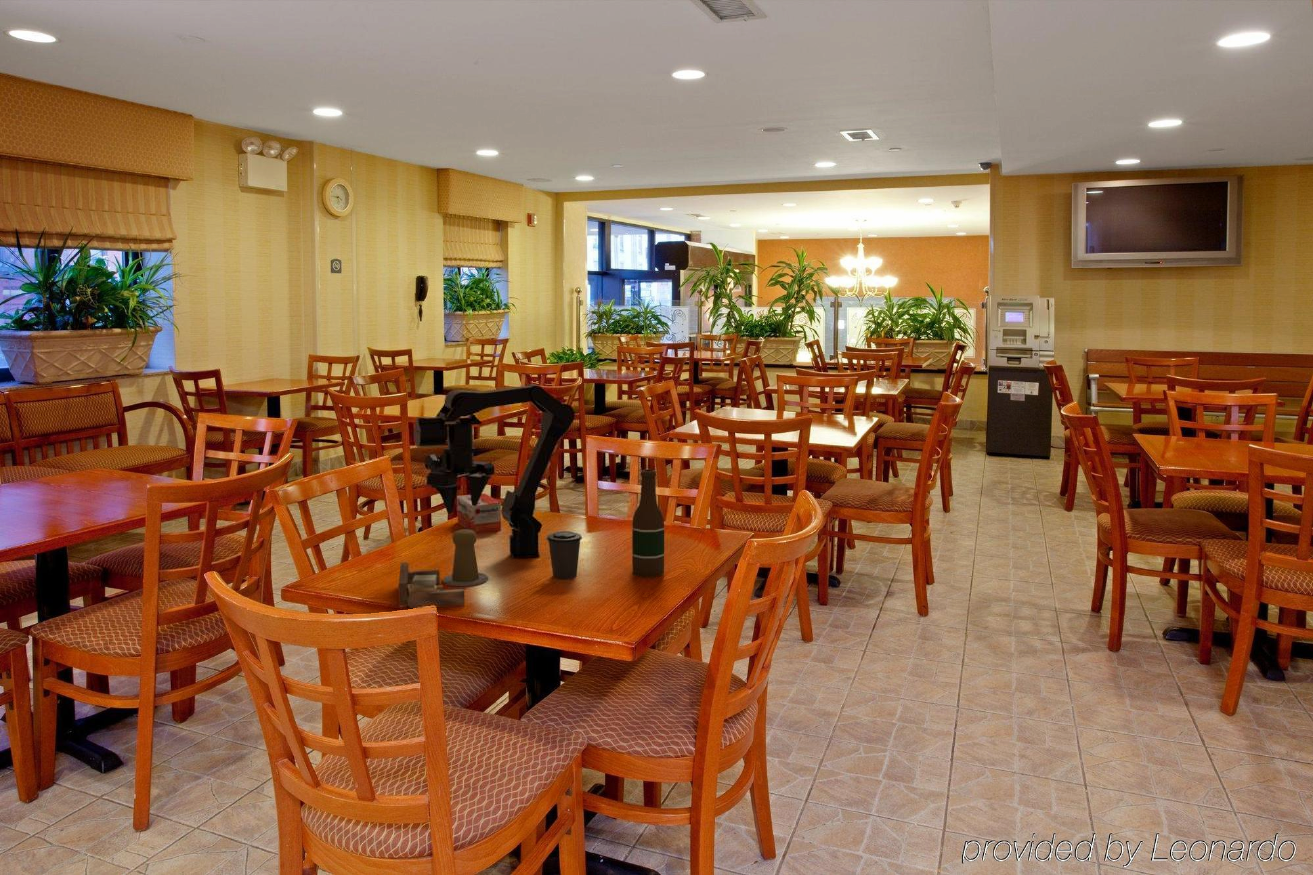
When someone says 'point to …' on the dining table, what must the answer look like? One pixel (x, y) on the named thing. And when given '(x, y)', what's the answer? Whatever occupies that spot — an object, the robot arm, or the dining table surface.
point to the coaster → (448, 581)
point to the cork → (464, 556)
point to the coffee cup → (564, 553)
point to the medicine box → (479, 513)
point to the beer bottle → (648, 531)
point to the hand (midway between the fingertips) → (462, 509)
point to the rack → (425, 589)
